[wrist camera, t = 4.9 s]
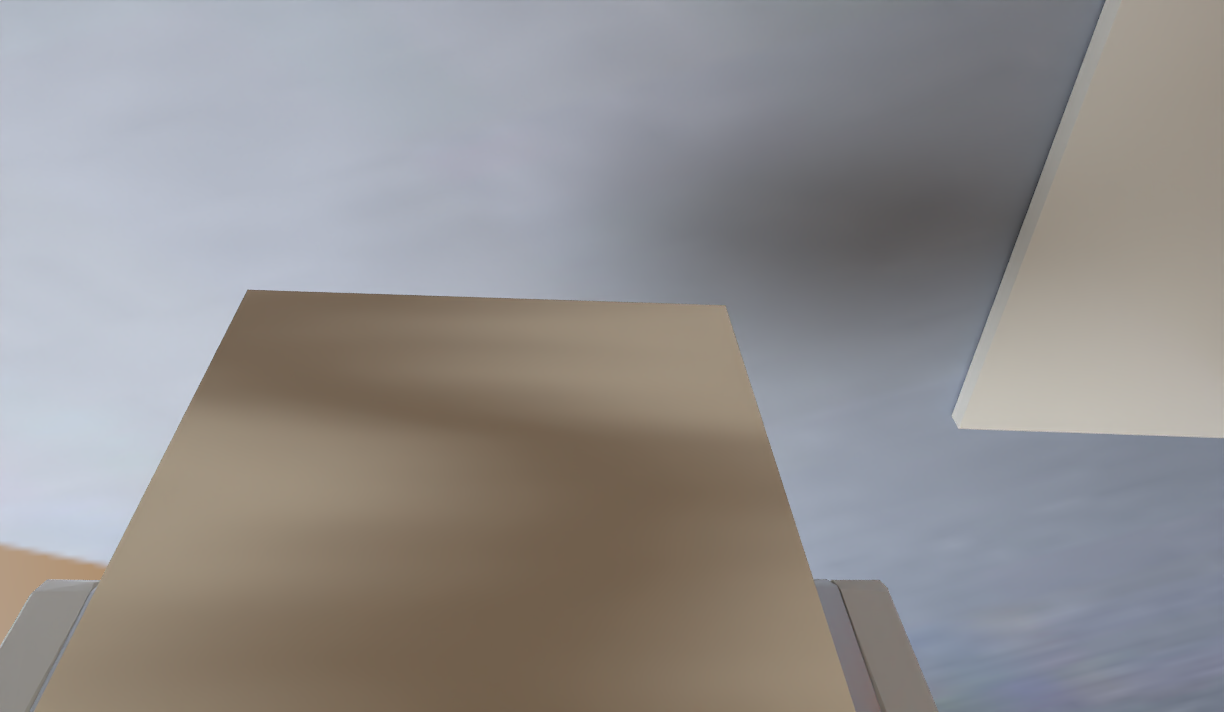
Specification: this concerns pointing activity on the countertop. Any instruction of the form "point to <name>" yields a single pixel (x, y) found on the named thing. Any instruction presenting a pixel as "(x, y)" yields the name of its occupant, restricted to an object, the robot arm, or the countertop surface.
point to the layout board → (1120, 245)
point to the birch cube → (461, 522)
